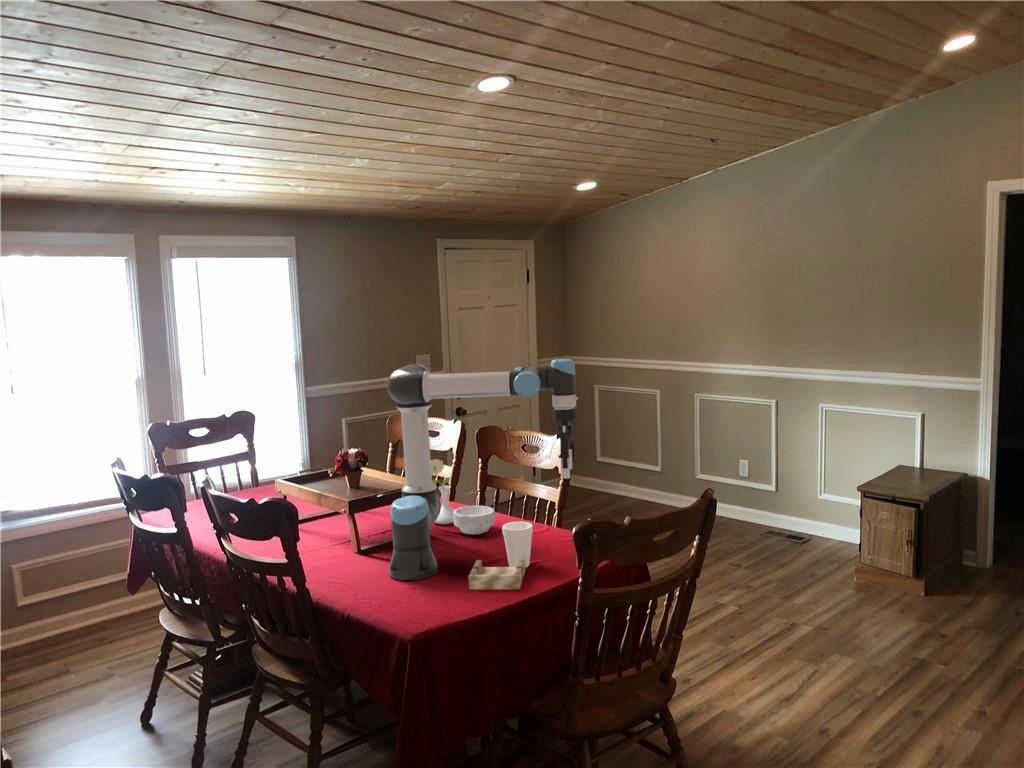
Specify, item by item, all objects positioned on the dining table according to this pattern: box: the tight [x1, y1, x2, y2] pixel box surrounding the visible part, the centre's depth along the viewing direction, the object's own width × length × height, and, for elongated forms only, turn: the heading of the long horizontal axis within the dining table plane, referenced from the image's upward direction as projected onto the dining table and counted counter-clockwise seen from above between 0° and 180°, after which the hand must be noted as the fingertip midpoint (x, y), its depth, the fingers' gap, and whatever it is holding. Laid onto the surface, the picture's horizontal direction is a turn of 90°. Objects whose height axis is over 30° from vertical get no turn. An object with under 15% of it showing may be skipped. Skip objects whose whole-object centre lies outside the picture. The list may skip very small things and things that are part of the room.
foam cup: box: [502, 521, 534, 569], centre depth 253 cm, size 10×9×13 cm
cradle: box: [467, 559, 526, 590], centre depth 242 cm, size 16×15×4 cm
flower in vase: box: [430, 458, 455, 525], centre depth 307 cm, size 13×11×25 cm
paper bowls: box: [453, 505, 496, 536], centre depth 294 cm, size 15×15×8 cm
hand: (567, 473), depth 256 cm, fingers open, 13 cm apart
